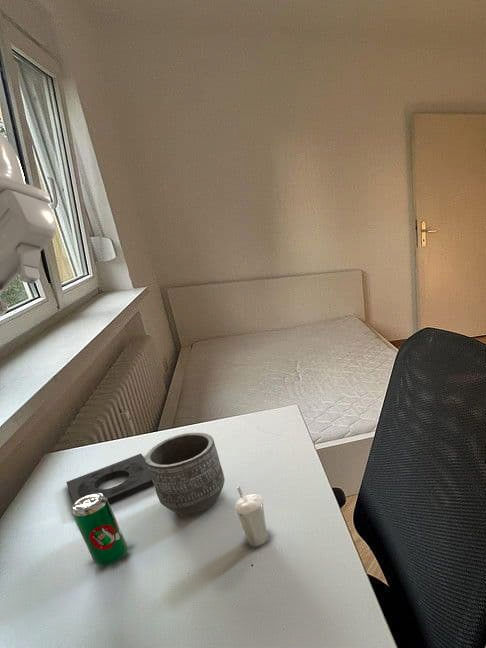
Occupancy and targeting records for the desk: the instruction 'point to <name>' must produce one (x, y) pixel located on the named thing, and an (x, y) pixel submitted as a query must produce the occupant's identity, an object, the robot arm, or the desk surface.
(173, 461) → the planter
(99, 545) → the soda can
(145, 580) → the desk surface
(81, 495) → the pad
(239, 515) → the milkshake
